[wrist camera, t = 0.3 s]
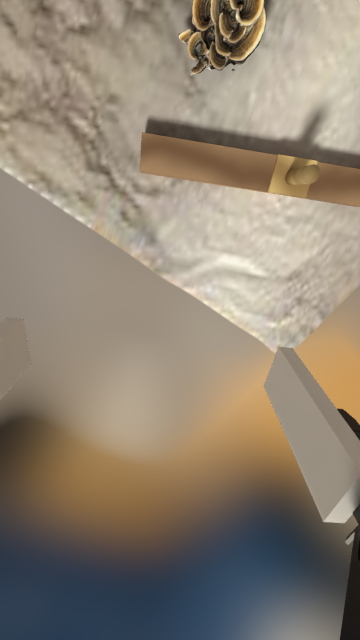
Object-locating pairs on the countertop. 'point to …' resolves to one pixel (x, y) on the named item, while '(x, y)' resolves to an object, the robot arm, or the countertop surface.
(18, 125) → the countertop surface
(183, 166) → the beam plank
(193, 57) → the mushroom
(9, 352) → the robot arm
